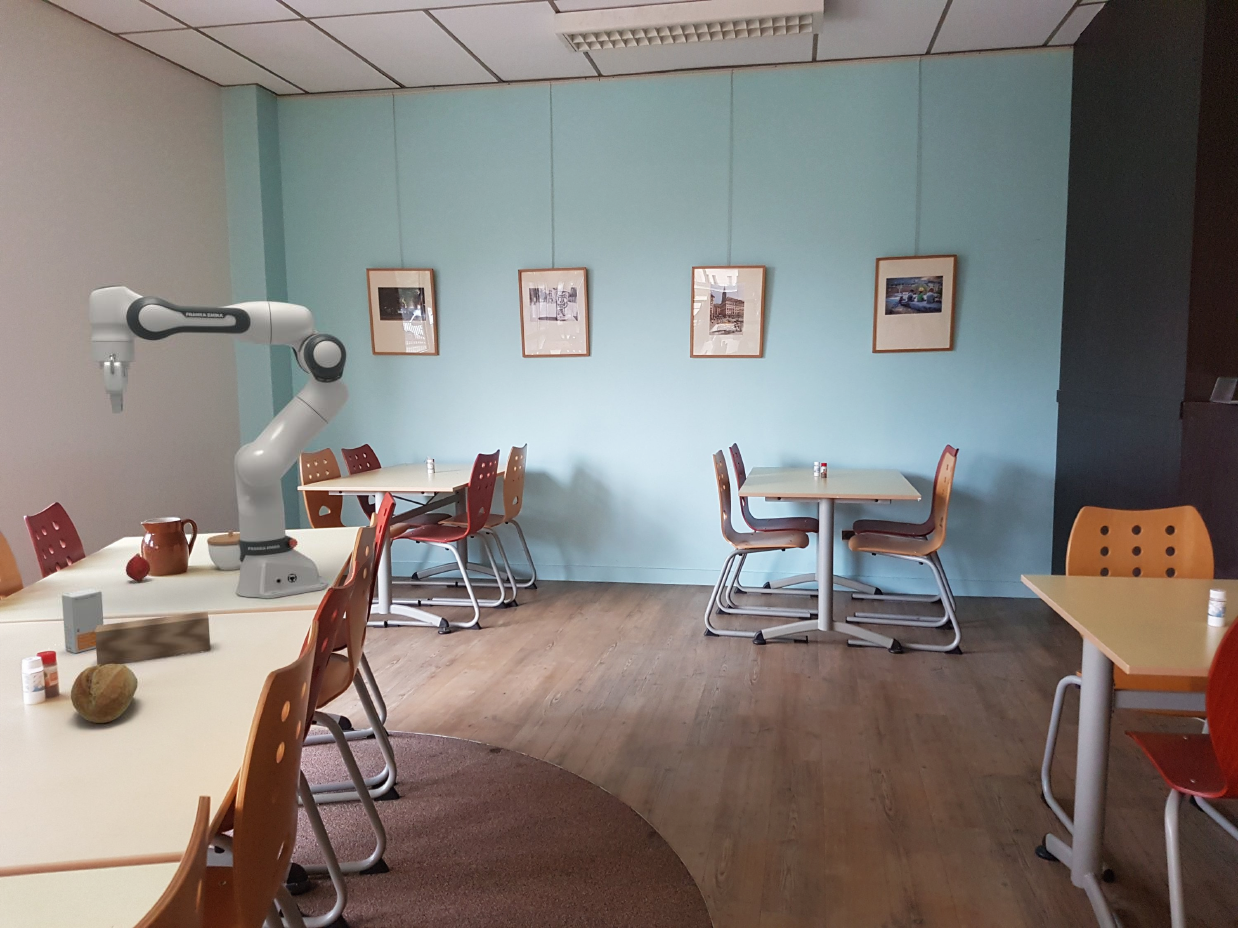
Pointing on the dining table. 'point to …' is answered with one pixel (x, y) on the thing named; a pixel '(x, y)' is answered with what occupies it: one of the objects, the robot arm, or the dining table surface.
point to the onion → (137, 568)
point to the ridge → (152, 638)
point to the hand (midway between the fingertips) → (118, 412)
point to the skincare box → (81, 619)
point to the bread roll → (103, 692)
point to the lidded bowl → (225, 550)
